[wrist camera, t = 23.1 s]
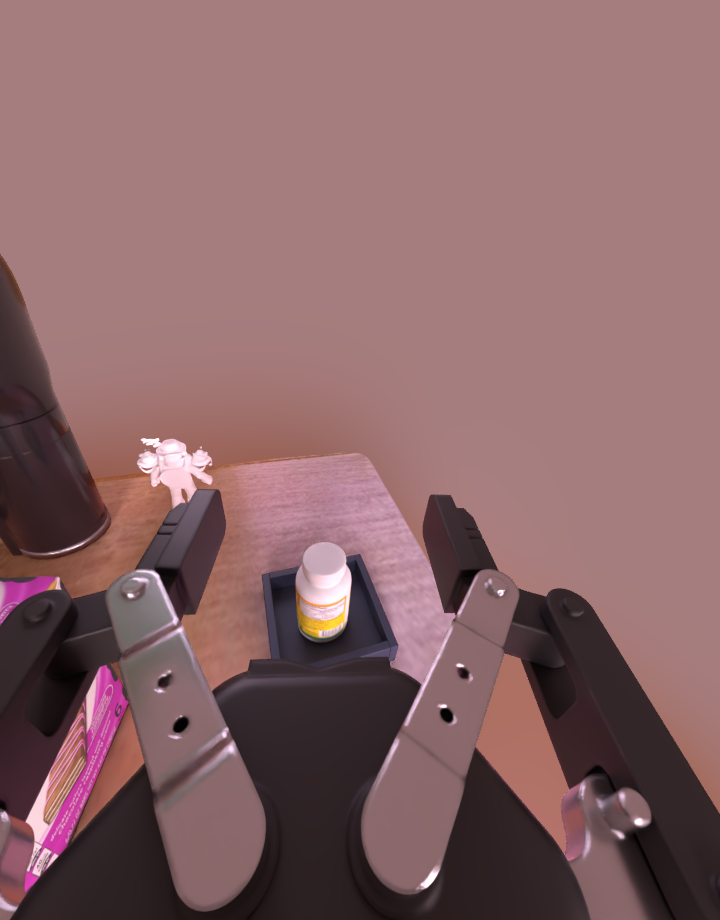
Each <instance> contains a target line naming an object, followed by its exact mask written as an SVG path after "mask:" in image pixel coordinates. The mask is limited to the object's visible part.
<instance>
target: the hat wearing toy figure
mask: <svg viewBox="0 0 720 920" xmlns="http://www.w3.org/2000/svg"><path fill="white" fill-rule="evenodd" d="M144 439H145V438H143V439H141V441H144V442H143V443H146V442H148V443H147V444H146V445H153V443H154V444H155V445H153V446H154V447H157V446H159V447H158V448H157V449H156V453H157V454H153V453H151V452H149V451H147V452H145V453H143V454H140V455H139V457H141V456H142V458H140V459H139V460H138V461H137V465H140V466H139V468H140V469H141V470H142V471H143V472H145V473H150V472H151V471H152V472H151V473H150V477H151V481H150V483H151V485H152V486H153V487H155V486H157V485H158V484H157V483H160V481H159V480H161V482H162V483H163V484H165V485H167V486H168V488H170V492H171V503H172V509H174V508H175V507H176V506H177V505H179V504H180V503H185V501H184V499H183V498H182V494H181V489H184V490H185V491H186V493H187V495H188V503H189V501H190V499H191V498H192V496H193V494H194V492H195V491H196V490H197V489H196V486H195V484H194V482H193V480H192V477H191V473H192V474H193V475H194V476H195V477H196V478H199V479H201V480H202V482H204V483H207V484H209V485H211V483H212V482H213V481H212V476H210V475H207V474H206V473H204V472H203V470H204V468H205V466H204V467H203V468H201V469H200V468H199V466H203V465H206V464H207V463H208V462H210V459H211V458H210V457H209V456H208V455H207V454H208V453H207V452H204V451H202V450H197V451H196V453H193V456H191V455H190V454H187V453H186V445H185V444H184V443H181V442H179V441H178V442H177V440H175V439H168V440H165V441H163V442H162V444H161V443H159V442H157V441H159V438H157V439H153V440H152V439H145V440H144ZM150 441H151V442H150ZM209 466H212V460H211V464H209ZM142 467H144V468H151V467H153V468H152V469H151V470H149V471H145V470H143V469H142ZM160 473H161V475H160ZM159 475H160V476H159Z"/></svg>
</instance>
